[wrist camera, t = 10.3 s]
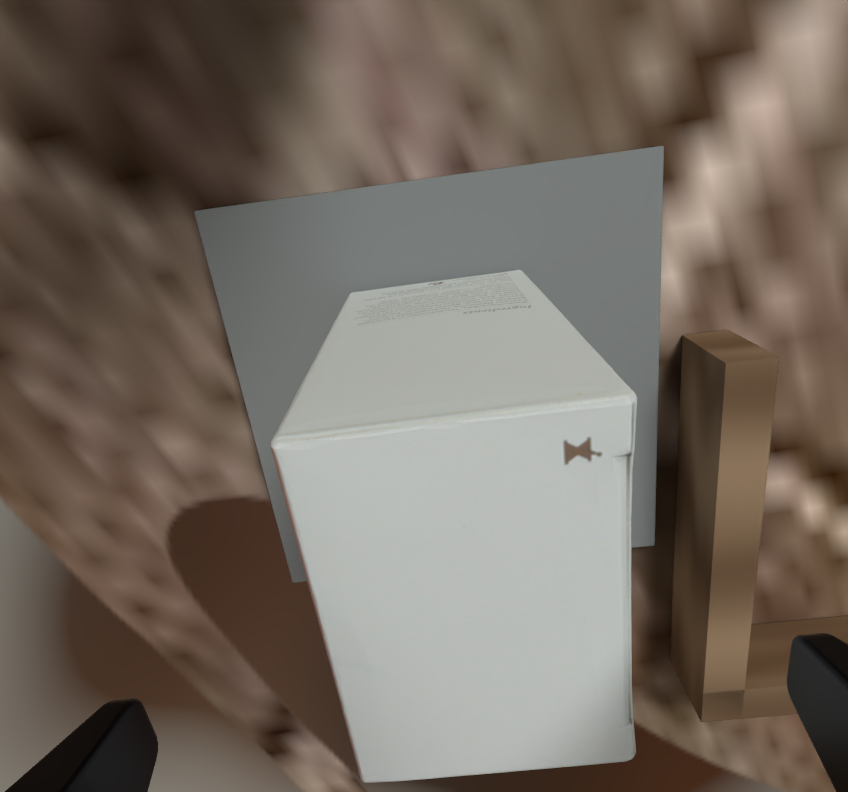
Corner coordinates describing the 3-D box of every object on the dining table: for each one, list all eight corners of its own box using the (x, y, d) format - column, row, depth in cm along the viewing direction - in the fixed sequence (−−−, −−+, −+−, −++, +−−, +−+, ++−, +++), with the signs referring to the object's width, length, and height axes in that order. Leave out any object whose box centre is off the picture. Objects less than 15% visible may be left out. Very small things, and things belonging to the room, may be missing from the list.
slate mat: (201, 210, 18) (194, 211, 17) (655, 146, 17) (663, 145, 17) (295, 572, 23) (292, 582, 22) (649, 535, 22) (654, 545, 22)
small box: (348, 289, 18) (256, 430, 8) (525, 265, 18) (645, 383, 8) (387, 504, 21) (354, 796, 11) (539, 487, 21) (641, 771, 11)
